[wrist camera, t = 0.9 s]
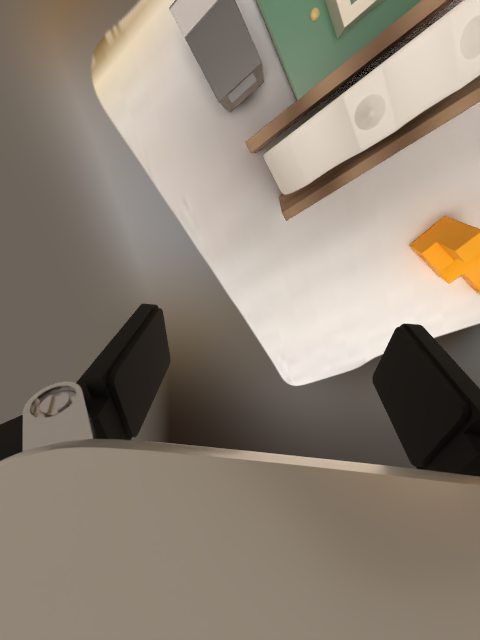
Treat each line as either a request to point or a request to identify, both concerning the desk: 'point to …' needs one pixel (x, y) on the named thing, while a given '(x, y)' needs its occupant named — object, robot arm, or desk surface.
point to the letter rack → (386, 147)
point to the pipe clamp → (451, 251)
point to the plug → (220, 47)
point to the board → (324, 33)
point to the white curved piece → (383, 99)
